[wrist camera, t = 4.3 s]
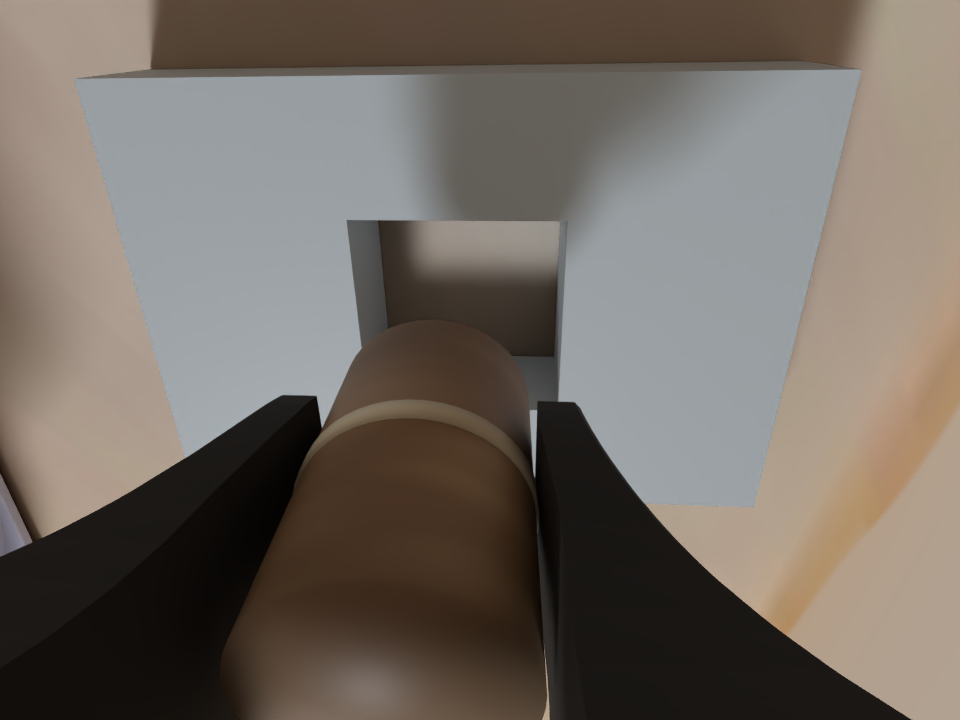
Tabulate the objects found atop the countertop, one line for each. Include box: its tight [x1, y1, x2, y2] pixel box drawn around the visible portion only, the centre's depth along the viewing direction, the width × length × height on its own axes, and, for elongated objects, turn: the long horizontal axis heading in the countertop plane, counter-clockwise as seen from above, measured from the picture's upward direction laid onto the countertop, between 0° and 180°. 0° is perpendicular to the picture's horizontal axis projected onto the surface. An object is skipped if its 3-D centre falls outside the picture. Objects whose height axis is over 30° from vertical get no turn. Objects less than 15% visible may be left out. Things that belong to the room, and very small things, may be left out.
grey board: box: [74, 61, 862, 507], centre depth 17 cm, size 11×16×3 cm
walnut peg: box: [220, 319, 547, 720], centre depth 10 cm, size 4×4×6 cm
